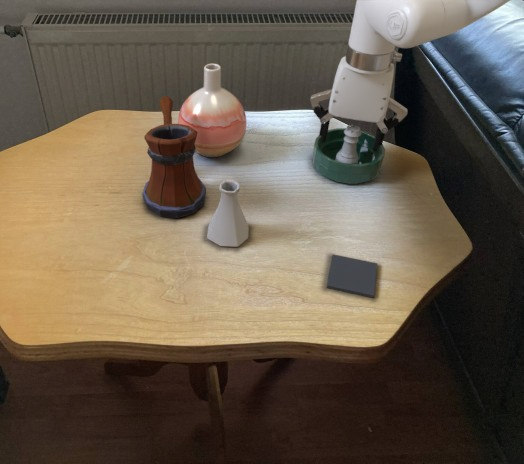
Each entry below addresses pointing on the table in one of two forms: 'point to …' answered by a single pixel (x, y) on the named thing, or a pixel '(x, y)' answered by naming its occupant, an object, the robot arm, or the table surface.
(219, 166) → the table surface
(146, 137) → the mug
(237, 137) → the vase
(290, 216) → the table surface
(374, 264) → the mat
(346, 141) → the rook chess piece
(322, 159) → the bowl
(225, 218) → the flask
